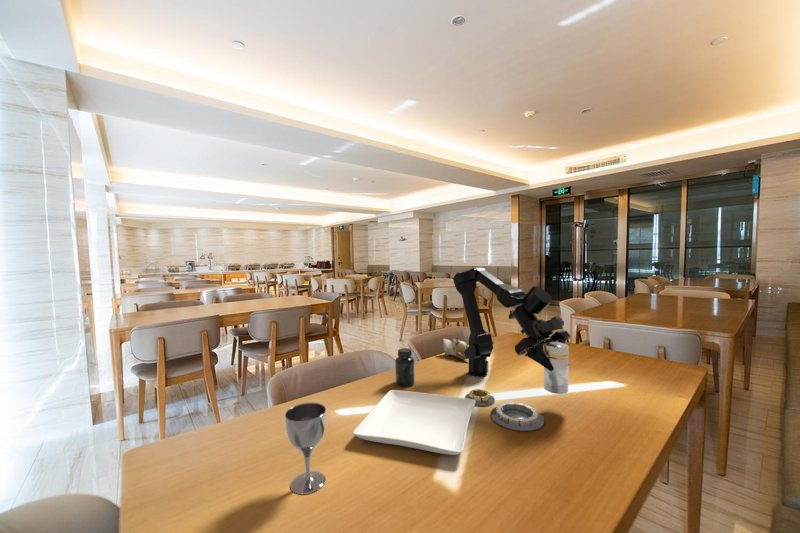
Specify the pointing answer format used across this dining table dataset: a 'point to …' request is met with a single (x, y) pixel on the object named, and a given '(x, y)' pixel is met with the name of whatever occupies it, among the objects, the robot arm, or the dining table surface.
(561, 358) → the cylinder
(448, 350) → the ceramic sculpture
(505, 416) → the collar
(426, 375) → the dining table surface
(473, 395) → the brass collar
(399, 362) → the supplement bottle
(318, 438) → the wine glass
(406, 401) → the square plate
